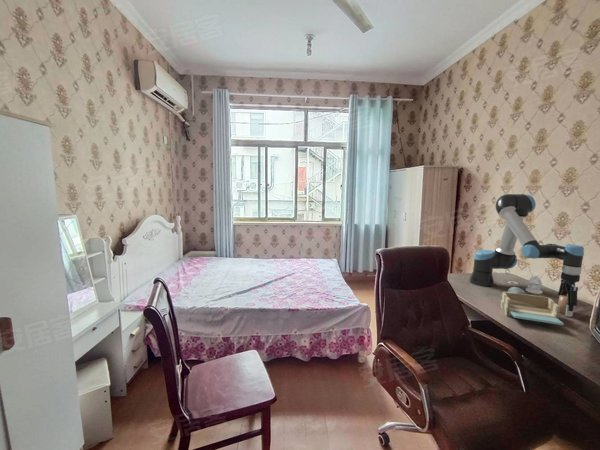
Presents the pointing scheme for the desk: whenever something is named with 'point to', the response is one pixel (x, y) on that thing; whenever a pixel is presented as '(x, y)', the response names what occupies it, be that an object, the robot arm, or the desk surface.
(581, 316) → the desk surface
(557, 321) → the cabinet door
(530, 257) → the robot arm
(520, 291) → the spool
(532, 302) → the crate
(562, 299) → the brown egg
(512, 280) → the desk surface
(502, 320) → the desk surface
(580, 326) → the desk surface
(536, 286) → the figurine
